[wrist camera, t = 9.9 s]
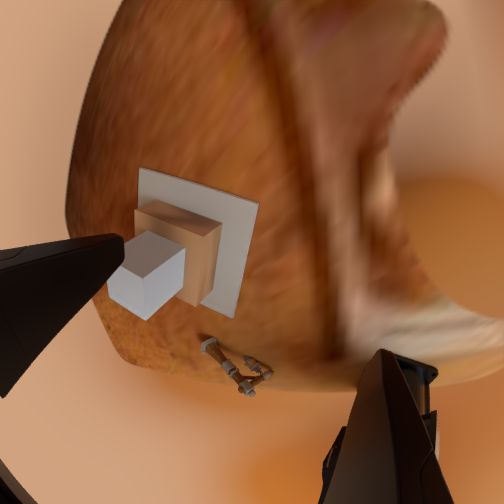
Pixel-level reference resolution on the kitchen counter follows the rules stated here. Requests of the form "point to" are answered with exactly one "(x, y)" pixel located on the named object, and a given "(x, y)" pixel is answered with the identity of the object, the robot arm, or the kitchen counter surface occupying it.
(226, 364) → the wooden post with brackets
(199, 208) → the build mat
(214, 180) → the kitchen counter surface
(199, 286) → the plinth
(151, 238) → the grey block
